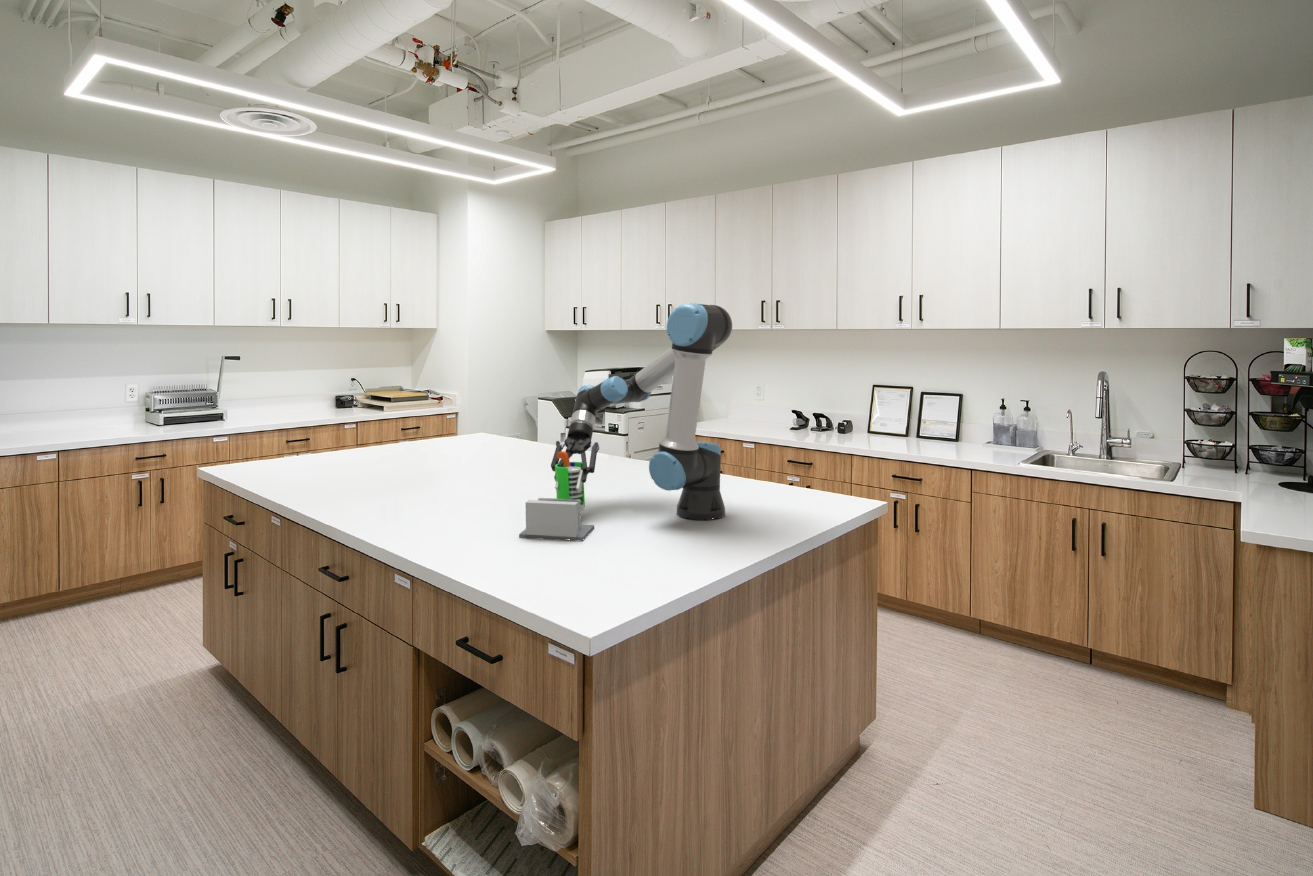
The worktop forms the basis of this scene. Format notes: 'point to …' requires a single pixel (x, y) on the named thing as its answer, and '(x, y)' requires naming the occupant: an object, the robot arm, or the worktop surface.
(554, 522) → the frame
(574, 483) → the green-shelled ribbed roller
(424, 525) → the worktop surface
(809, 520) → the worktop surface
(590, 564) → the worktop surface
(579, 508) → the gauge plunger
